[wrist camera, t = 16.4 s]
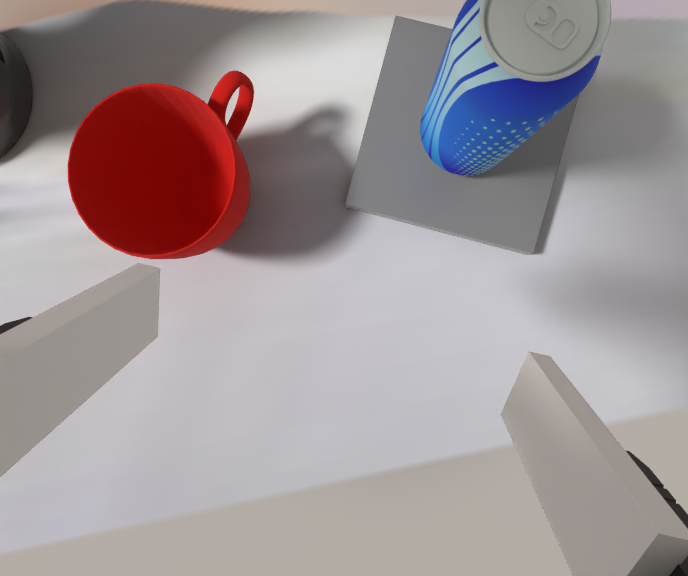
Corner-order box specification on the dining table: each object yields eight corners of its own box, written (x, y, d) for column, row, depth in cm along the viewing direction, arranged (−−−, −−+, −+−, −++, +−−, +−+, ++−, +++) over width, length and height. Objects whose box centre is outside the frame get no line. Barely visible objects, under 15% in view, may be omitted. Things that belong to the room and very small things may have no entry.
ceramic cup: (320, 154, 38) (305, 109, 28) (216, 290, 39) (165, 293, 29) (217, 75, 38) (166, 3, 28) (117, 211, 39) (32, 187, 29)
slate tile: (345, 207, 38) (344, 203, 36) (394, 26, 37) (395, 15, 36) (526, 254, 37) (533, 253, 35) (578, 70, 36) (588, 61, 35)
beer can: (429, 189, 36) (482, 115, 20) (408, 101, 36) (445, -44, 20) (519, 167, 35) (647, 73, 19) (498, 78, 35) (609, -90, 19)
